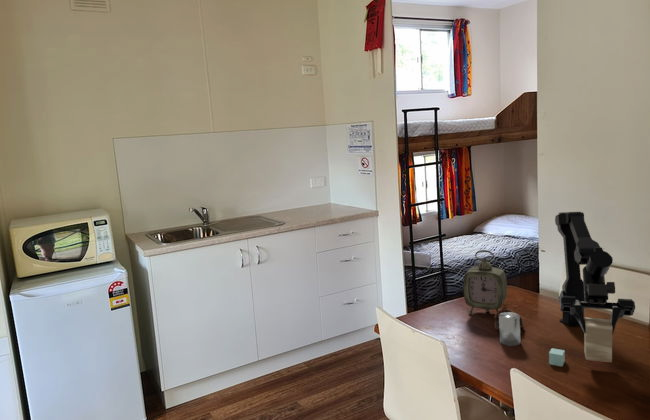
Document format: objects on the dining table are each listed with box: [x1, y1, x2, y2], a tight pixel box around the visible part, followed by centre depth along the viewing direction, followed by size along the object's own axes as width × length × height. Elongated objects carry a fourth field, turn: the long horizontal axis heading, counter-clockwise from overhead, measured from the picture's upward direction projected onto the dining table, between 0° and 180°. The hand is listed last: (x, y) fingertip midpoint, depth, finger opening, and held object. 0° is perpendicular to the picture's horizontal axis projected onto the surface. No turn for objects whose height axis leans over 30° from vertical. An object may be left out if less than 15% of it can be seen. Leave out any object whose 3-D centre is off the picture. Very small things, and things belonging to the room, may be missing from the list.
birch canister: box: [583, 316, 613, 363], centre depth 141 cm, size 6×6×10 cm
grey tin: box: [498, 311, 521, 347], centre depth 163 cm, size 6×6×9 cm
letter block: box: [548, 347, 566, 367], centre depth 147 cm, size 4×4×4 cm
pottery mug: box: [493, 307, 525, 331], centre depth 174 cm, size 12×10×8 cm
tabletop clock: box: [462, 249, 508, 319], centre depth 187 cm, size 14×9×25 cm, turn 58°
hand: (598, 333), depth 139 cm, fingers closed on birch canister, 6 cm apart
